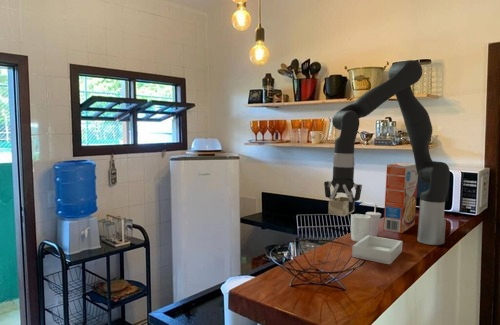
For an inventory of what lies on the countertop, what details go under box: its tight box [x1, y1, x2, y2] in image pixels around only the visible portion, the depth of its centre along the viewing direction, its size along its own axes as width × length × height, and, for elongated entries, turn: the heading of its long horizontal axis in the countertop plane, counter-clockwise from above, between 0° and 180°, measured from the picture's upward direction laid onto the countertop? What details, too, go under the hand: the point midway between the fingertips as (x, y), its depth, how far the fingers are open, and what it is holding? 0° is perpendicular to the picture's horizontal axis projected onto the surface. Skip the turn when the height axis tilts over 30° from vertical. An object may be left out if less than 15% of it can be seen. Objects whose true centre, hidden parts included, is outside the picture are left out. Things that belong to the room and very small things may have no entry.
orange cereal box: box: [382, 162, 419, 234], centre depth 184 cm, size 23×8×30 cm, turn 144°
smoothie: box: [365, 203, 382, 237], centre depth 167 cm, size 6×6×14 cm
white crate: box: [351, 235, 403, 265], centre depth 142 cm, size 18×13×4 cm
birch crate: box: [327, 195, 356, 217], centre depth 145 cm, size 11×6×5 cm, turn 147°
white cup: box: [350, 213, 371, 243], centre depth 160 cm, size 8×8×10 cm
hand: (341, 210), depth 145 cm, fingers closed on birch crate, 6 cm apart
